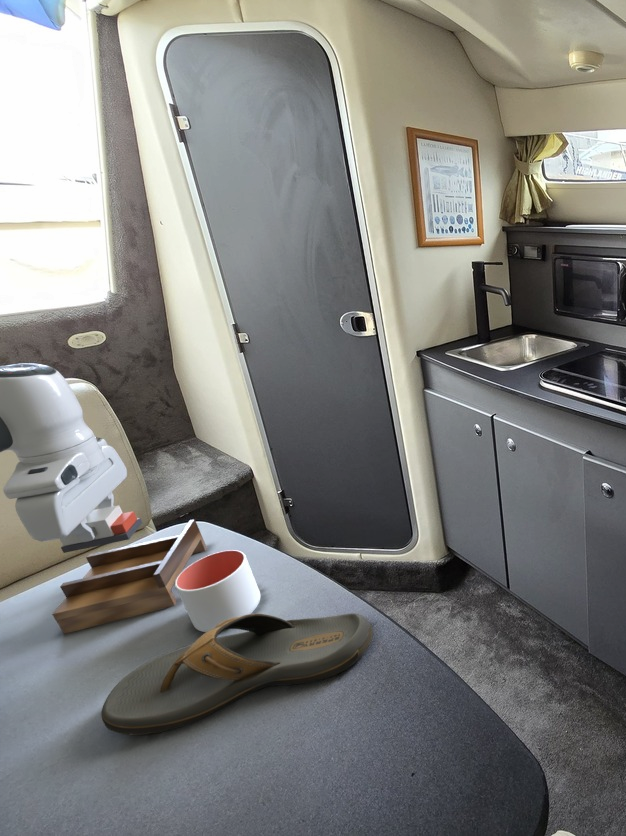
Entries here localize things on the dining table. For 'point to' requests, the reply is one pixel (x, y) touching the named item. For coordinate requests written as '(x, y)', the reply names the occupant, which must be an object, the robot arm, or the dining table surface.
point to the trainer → (104, 528)
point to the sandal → (233, 669)
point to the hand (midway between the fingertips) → (99, 528)
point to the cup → (218, 589)
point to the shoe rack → (127, 581)
